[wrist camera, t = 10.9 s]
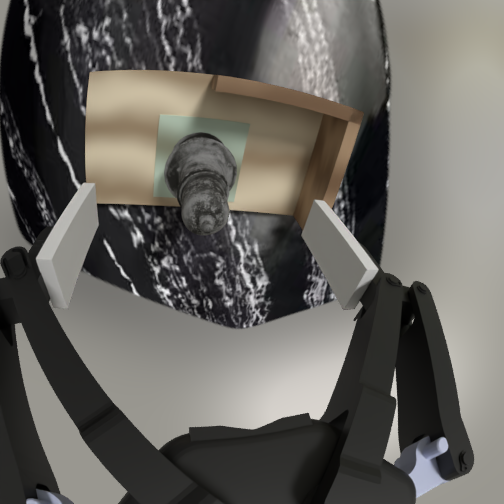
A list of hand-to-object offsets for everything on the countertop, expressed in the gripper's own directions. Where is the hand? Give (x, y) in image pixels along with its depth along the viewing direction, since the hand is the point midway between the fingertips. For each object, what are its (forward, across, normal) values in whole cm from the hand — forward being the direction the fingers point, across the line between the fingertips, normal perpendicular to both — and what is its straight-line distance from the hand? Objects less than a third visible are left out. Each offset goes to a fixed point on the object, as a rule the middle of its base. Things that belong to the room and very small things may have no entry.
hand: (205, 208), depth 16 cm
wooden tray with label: (+11, +1, +1) cm, 11 cm away
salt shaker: (+11, 0, -1) cm, 11 cm away
